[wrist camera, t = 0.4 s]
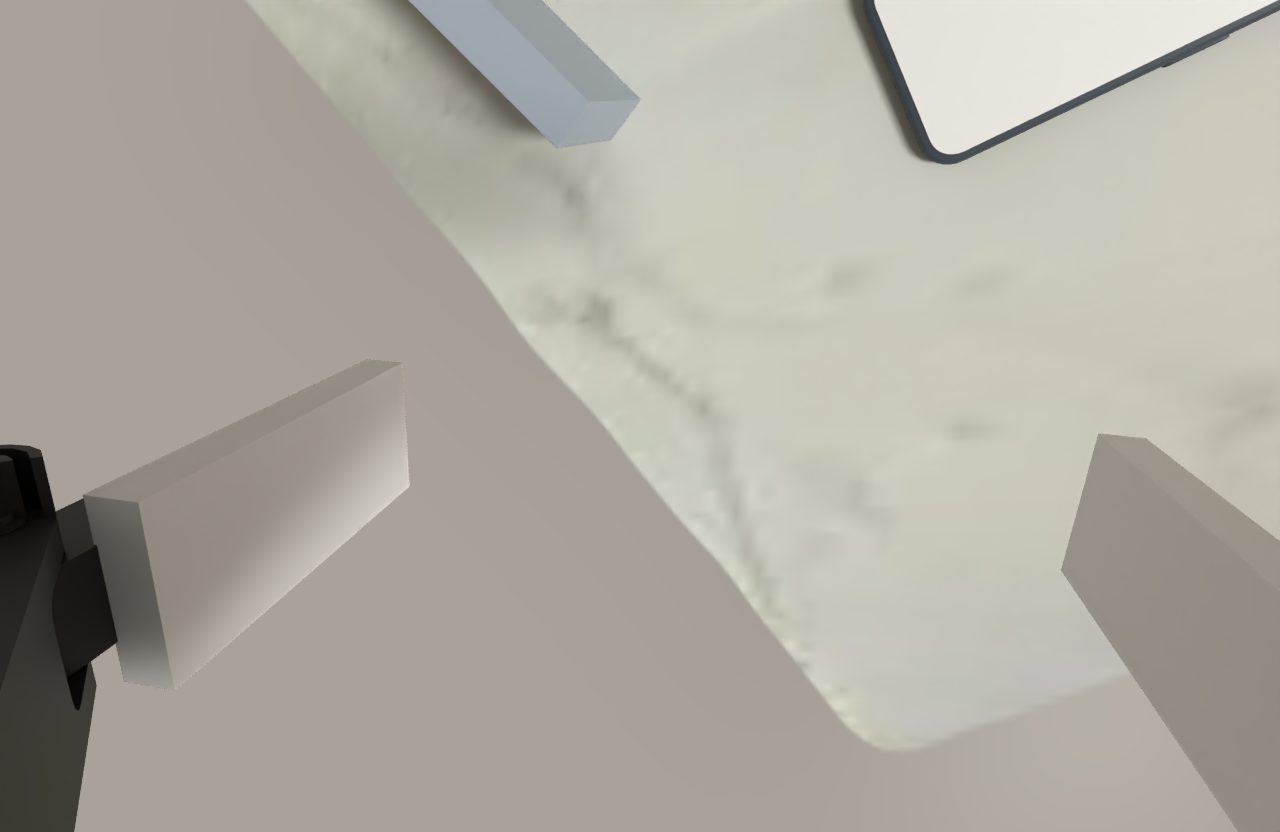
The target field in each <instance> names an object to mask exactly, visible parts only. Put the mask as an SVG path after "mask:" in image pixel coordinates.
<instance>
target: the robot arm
mask: <svg viewBox="0 0 1280 832" xmlns="http://www.w3.org/2000/svg"><path fill="white" fill-rule="evenodd" d="M403 386H404V385H403V368H402V363H400V362H389V361H380V360H371V359H367V360H364V361H362V362H360V363H358V364H356V365H354V366H352V367H350V368H348V369H346V370H344V371H341V372H339V373H337V374H335V375H333V376H331V377H329V378H327V379H325V380H323V381H320V382H318V383H317V384H314V385H312V386H310V387H308V388H306V389H304V390H302V391H299V392H297V393H296V394H293V395H291V396H289V397H287V398H285V399H283V400H281V401H279V402H277V403H274V404H272V405H270V406H268V407H266V408H264V409H262V410H260V411H258V412H256V413H253V414H251V415H249V416H247V417H245V418H243V419H241V420H239V421H237V422H235V423H232V424H230V425H228V426H226V427H224V428H222V429H220V430H218V431H216V432H214V433H212V434H209V435H207V436H205V437H203V438H201V439H199V440H197V441H195V442H193V443H191V444H189V445H186V446H184V447H182V448H180V449H178V450H176V451H174V452H172V453H170V454H167V455H165V456H163V457H162V458H159V459H157V460H155V461H153V462H151V463H149V464H147V465H144V466H142V467H140V468H138V469H136V470H134V471H132V472H130V473H128V474H126V475H123V476H122V477H119V478H117V479H115V480H113V481H111V482H109V483H107V484H105V485H103V486H100V487H99V488H96V489H94V490H92V491H90V492H88V493H86V494H84V495H83V497H84V498H83V499H81V500H79V501H77V502H75V503H73V504H71V505H68V506H66V507H64V508H62V509H60V510H58V511H55V507H54V503H53V499H52V494H51V490H50V486H49V482H48V478H47V473H46V469H45V465H44V461H43V456H42V453H41V450H39V449H36V448H33V447H31V446H23V445H0V832H74V829H75V823H76V816H77V810H78V803H79V797H80V790H81V784H82V777H83V771H84V764H85V758H86V751H87V745H88V738H89V731H90V725H91V718H92V712H93V705H94V699H95V692H96V681H95V677H94V673H93V668H92V664H91V661H92V660H93V659H95V658H96V657H97V656H99V655H100V654H101V653H103V652H104V651H106V650H107V649H109V648H110V647H111V646H113V645H114V644H115V643H116V647H117V652H118V656H119V661H120V665H121V670H122V674H123V678H124V682H129V683H135V684H140V685H146V686H152V687H157V688H162V689H168V690H173V691H175V690H176V689H177V688H178V687H180V686H181V685H182V684H183V683H184V682H185V681H187V680H188V679H189V678H190V677H191V676H192V675H193V674H195V673H196V672H197V671H198V670H199V669H200V668H201V667H203V666H204V665H205V664H206V663H207V662H208V661H210V660H211V659H212V658H213V657H214V656H215V655H216V654H217V653H219V652H220V651H221V650H222V649H223V648H224V647H226V646H227V645H228V644H229V643H230V642H231V641H233V640H234V639H235V638H236V637H237V636H238V635H239V634H241V633H242V632H243V631H244V630H245V629H246V628H247V627H248V626H249V625H251V624H252V623H253V622H254V621H255V620H257V619H258V618H259V617H260V616H261V615H262V614H264V613H265V612H266V611H267V610H268V609H269V608H270V607H272V606H273V605H274V604H275V603H276V602H277V601H278V600H279V599H281V598H282V597H283V596H284V595H285V594H286V593H288V592H289V591H290V590H291V589H292V588H293V587H294V586H296V585H297V584H298V583H299V582H300V581H301V580H303V579H304V578H305V577H306V576H307V575H308V574H309V573H311V572H312V571H313V570H314V569H315V568H316V567H317V566H319V565H320V564H321V563H322V562H323V561H324V560H325V559H327V558H328V557H329V556H330V555H331V554H332V553H333V552H335V551H336V550H337V549H338V548H339V547H340V546H342V545H343V544H344V543H345V542H346V541H347V540H348V539H349V538H351V537H352V536H353V535H354V534H355V533H356V532H358V531H359V530H360V529H361V528H362V527H363V526H364V525H365V524H367V523H368V522H369V521H370V520H371V519H372V518H374V517H375V516H376V515H377V514H378V513H379V512H381V511H382V510H383V509H384V508H385V507H386V506H387V505H389V504H390V503H391V502H392V501H393V500H394V499H395V498H397V497H398V496H399V495H400V494H401V493H402V492H403V491H405V490H406V489H407V488H408V487H409V470H408V453H407V436H406V420H405V403H404V387H403ZM1061 571H1062V572H1063V574H1064V575H1065V577H1066V578H1067V580H1068V581H1069V583H1070V584H1071V586H1072V587H1073V589H1074V590H1075V592H1076V593H1077V595H1078V596H1079V597H1080V599H1081V600H1082V602H1083V603H1084V605H1085V606H1086V608H1087V609H1088V611H1089V612H1090V614H1091V615H1092V617H1093V618H1094V620H1095V621H1096V623H1097V624H1098V625H1099V627H1100V628H1101V630H1102V631H1103V633H1104V634H1105V636H1106V637H1107V639H1108V640H1109V642H1110V643H1111V645H1112V646H1113V648H1114V649H1115V651H1116V652H1117V653H1118V655H1119V656H1120V658H1121V659H1122V661H1123V662H1124V664H1125V665H1126V667H1127V668H1128V670H1129V671H1130V673H1131V674H1132V676H1133V677H1134V678H1135V680H1136V681H1137V683H1138V684H1139V686H1140V687H1141V689H1142V690H1143V692H1144V693H1145V695H1146V696H1147V698H1148V699H1149V700H1150V702H1151V704H1152V705H1153V706H1154V708H1155V709H1156V711H1157V712H1158V714H1159V715H1160V717H1161V718H1162V720H1163V721H1164V723H1165V724H1166V726H1167V727H1168V728H1169V730H1170V732H1171V733H1172V735H1173V736H1174V738H1175V739H1176V740H1177V742H1178V743H1179V745H1180V746H1181V748H1182V749H1183V751H1184V752H1185V754H1186V755H1187V757H1188V758H1189V759H1190V761H1191V762H1192V764H1193V765H1194V767H1195V768H1196V770H1197V771H1198V773H1199V774H1200V776H1201V777H1202V779H1203V780H1204V782H1205V783H1206V785H1207V786H1208V788H1209V789H1210V791H1211V792H1212V794H1213V795H1214V797H1215V798H1216V799H1217V801H1218V802H1219V804H1220V805H1221V807H1222V808H1223V810H1224V811H1225V813H1226V814H1227V816H1228V817H1229V819H1230V820H1231V821H1232V823H1233V825H1234V826H1235V827H1236V829H1237V830H1238V832H1280V541H1279V540H1278V539H1276V538H1275V537H1274V536H1272V535H1271V534H1270V533H1268V532H1267V531H1266V530H1264V529H1263V528H1262V527H1261V526H1259V525H1258V524H1257V523H1255V522H1254V521H1253V520H1251V519H1250V518H1249V517H1248V516H1246V515H1245V514H1244V513H1242V512H1241V511H1240V510H1238V509H1237V508H1236V507H1234V506H1233V505H1232V504H1231V503H1229V502H1228V501H1227V500H1225V499H1224V498H1223V497H1221V496H1220V495H1219V494H1218V493H1216V492H1215V491H1214V490H1212V489H1211V488H1210V487H1208V486H1207V485H1206V484H1204V483H1203V482H1202V481H1201V480H1199V479H1198V478H1197V477H1195V476H1194V475H1193V474H1191V473H1190V472H1189V471H1188V470H1186V469H1185V468H1184V467H1182V466H1181V465H1180V464H1178V463H1177V462H1176V461H1174V460H1173V459H1172V458H1171V457H1169V456H1168V455H1167V454H1165V453H1164V452H1163V451H1161V450H1160V449H1159V448H1158V447H1156V446H1155V445H1154V444H1152V443H1151V442H1150V441H1148V440H1147V439H1146V438H1136V437H1126V436H1117V435H1107V434H1098V437H1097V441H1096V444H1095V448H1094V452H1093V455H1092V459H1091V463H1090V466H1089V470H1088V474H1087V477H1086V481H1085V485H1084V488H1083V492H1082V496H1081V499H1080V503H1079V507H1078V510H1077V514H1076V518H1075V521H1074V525H1073V529H1072V532H1071V536H1070V540H1069V543H1068V547H1067V551H1066V554H1065V558H1064V562H1063V565H1062V569H1061Z"/></svg>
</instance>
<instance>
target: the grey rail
mask: <svg viewBox="0 0 1280 832" xmlns="http://www.w3.org/2000/svg"><path fill="white" fill-rule="evenodd" d="M409 1H410V2H411V3H412V4H413V5H414V6H415V7H416V8H417V9H418V10H419V11H420V12H421V13H422V14H423V15H424V16H425V17H426V18H427V19H428V20H429V21H430V22H431V23H432V24H433V25H434V26H435V27H436V28H437V29H438V30H439V31H440V32H441V33H442V34H443V35H444V36H445V37H446V38H447V39H448V40H449V41H450V42H451V43H452V44H453V45H454V46H455V47H456V48H457V49H458V50H459V51H460V52H461V53H462V54H463V55H464V56H465V57H466V58H467V59H468V60H469V61H470V62H471V63H472V64H473V65H474V66H475V67H476V68H477V69H478V70H479V71H480V72H481V73H482V74H483V75H484V76H485V77H486V78H487V79H488V80H489V81H490V82H491V83H492V84H493V85H494V86H495V87H496V88H497V89H498V90H499V91H500V92H501V93H502V94H503V95H504V96H505V97H506V98H507V99H508V100H509V101H510V102H511V103H512V104H513V105H514V106H515V107H516V108H517V109H518V110H519V111H520V112H521V113H522V114H523V115H524V116H525V117H526V118H527V119H528V120H529V121H530V122H531V123H532V124H533V125H534V126H535V127H536V128H537V129H538V130H539V131H540V132H541V133H542V134H543V135H544V136H545V137H546V138H547V139H548V140H549V141H550V142H551V143H552V144H553V145H554V146H555V147H556V148H563V147H569V146H575V145H582V144H588V143H595V142H601V141H607V140H611V139H612V138H613V136H614V135H615V134H616V132H617V131H618V129H619V128H620V127H621V125H622V124H623V123H624V121H625V120H626V119H627V117H628V116H629V114H630V113H631V112H632V110H633V109H634V108H635V106H636V105H637V104H638V102H639V101H640V99H639V98H638V97H637V96H636V95H635V94H634V93H633V92H632V91H631V90H630V89H629V88H628V87H627V86H626V85H625V84H624V83H623V82H622V81H621V80H620V79H619V78H618V77H617V76H616V75H615V74H614V73H613V72H612V71H611V70H610V69H609V68H608V67H607V66H606V65H605V64H604V63H603V62H602V61H601V60H600V59H599V58H598V57H597V56H596V55H595V54H594V53H593V52H592V51H591V50H590V49H589V48H588V47H587V46H586V45H585V44H584V43H583V42H582V41H581V40H580V39H579V38H578V37H577V36H576V35H575V34H574V33H573V31H572V30H571V29H570V28H569V27H568V26H567V25H566V24H565V23H564V22H563V21H562V20H561V19H560V18H559V17H558V16H557V15H556V14H555V13H554V12H553V11H552V10H551V9H550V8H549V7H548V6H547V5H546V4H545V3H544V2H543V1H542V0H409Z"/></svg>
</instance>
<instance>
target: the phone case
mask: <svg viewBox="0 0 1280 832" xmlns="http://www.w3.org/2000/svg"><path fill="white" fill-rule="evenodd" d="M863 8H864V11H865V14H866V17H867V19H868V22H869V24H870V26H871V29H872V31H873V34H874V36H875V38H876V41H877V43H878V46H879V48H880V51H881V53H882V55H883V58H884V60H885V63H886V65H887V68H888V70H889V72H890V75H891V77H892V80H893V82H894V85H895V87H896V89H897V92H898V94H899V97H900V99H901V102H902V104H903V106H904V109H905V111H906V114H907V116H908V119H909V121H910V123H911V126H912V128H913V131H914V133H915V136H916V138H917V140H918V143H919V145H920V148H921V149H922V151H923V153H924V154H925V155H926V156H927V157H928V158H929V159H930V160H932V161H934V162H936V163H940V164H955V163H959V162H961V161H964V160H966V159H968V158H970V157H972V156H974V155H976V154H978V153H981V152H983V151H985V150H987V149H989V148H991V147H993V146H995V145H997V144H999V143H1002V142H1004V141H1006V140H1008V139H1010V138H1012V137H1014V136H1016V135H1018V134H1020V133H1023V132H1025V131H1027V130H1029V129H1031V128H1033V127H1035V126H1037V125H1039V124H1042V123H1044V122H1046V121H1048V120H1050V119H1052V118H1054V117H1056V116H1058V115H1060V114H1063V113H1065V112H1067V111H1069V110H1071V109H1073V108H1075V107H1077V106H1079V105H1082V104H1084V103H1086V102H1088V101H1090V100H1092V99H1094V98H1096V97H1098V96H1100V95H1103V94H1105V93H1107V92H1109V91H1111V90H1113V89H1115V88H1117V87H1119V86H1121V85H1124V84H1126V83H1128V82H1130V81H1132V80H1134V79H1136V78H1138V77H1140V76H1143V75H1145V74H1147V73H1149V72H1151V71H1153V70H1155V69H1157V68H1159V67H1167V66H1170V65H1172V64H1174V63H1176V62H1178V61H1180V60H1182V59H1184V58H1187V57H1189V56H1191V55H1193V54H1195V53H1197V52H1199V51H1201V50H1203V49H1206V48H1208V47H1210V46H1212V45H1214V44H1216V43H1218V42H1220V41H1222V40H1224V39H1226V38H1228V37H1229V34H1231V33H1233V32H1235V31H1237V30H1239V29H1241V28H1244V27H1246V26H1248V25H1250V24H1252V23H1254V22H1256V21H1258V20H1260V19H1262V18H1265V17H1267V16H1269V15H1271V14H1273V13H1275V12H1277V11H1279V10H1280V0H863Z"/></svg>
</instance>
